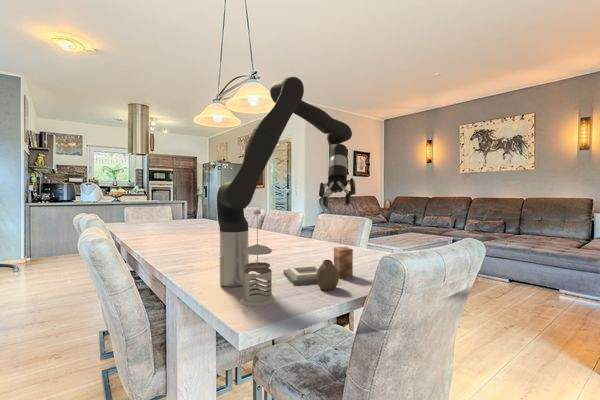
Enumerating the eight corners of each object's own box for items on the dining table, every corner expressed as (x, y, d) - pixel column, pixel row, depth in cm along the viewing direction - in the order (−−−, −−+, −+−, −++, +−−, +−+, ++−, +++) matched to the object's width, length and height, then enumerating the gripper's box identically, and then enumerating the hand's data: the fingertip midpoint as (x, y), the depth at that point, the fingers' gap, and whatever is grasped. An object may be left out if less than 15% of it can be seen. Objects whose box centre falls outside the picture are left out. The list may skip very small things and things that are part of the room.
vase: (323, 293, 92) (323, 263, 91) (312, 287, 98) (312, 259, 97) (343, 289, 95) (343, 261, 94) (330, 283, 101) (330, 257, 101)
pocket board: (293, 285, 99) (293, 276, 99) (283, 274, 113) (283, 266, 113) (334, 281, 103) (334, 273, 103) (319, 271, 117) (319, 264, 117)
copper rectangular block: (339, 278, 107) (339, 250, 106) (333, 275, 111) (333, 247, 111) (352, 277, 108) (352, 249, 108) (346, 274, 113) (346, 246, 113)
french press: (279, 303, 83) (279, 210, 82) (236, 309, 79) (235, 211, 78) (270, 292, 92) (270, 208, 92) (230, 297, 88) (230, 209, 88)
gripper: (317, 167, 125) (315, 204, 118) (351, 161, 118) (351, 200, 112) (325, 175, 131) (323, 211, 124) (357, 170, 125) (357, 207, 118)
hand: (336, 205), depth 118 cm, fingers open, 8 cm apart
